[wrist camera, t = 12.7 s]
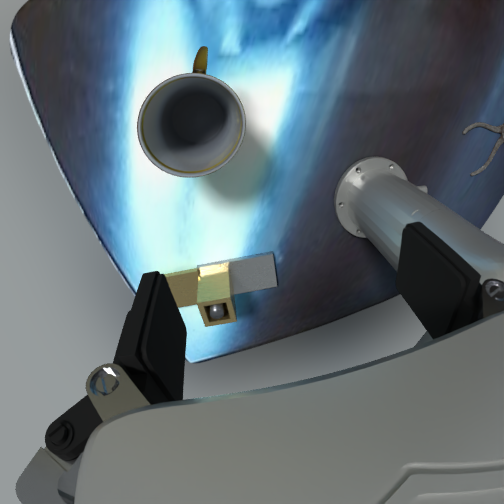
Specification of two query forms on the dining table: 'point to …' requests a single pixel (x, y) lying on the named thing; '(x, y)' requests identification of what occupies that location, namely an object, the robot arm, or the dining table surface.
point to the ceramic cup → (191, 122)
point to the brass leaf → (204, 292)
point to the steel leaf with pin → (244, 275)
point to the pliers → (499, 129)
